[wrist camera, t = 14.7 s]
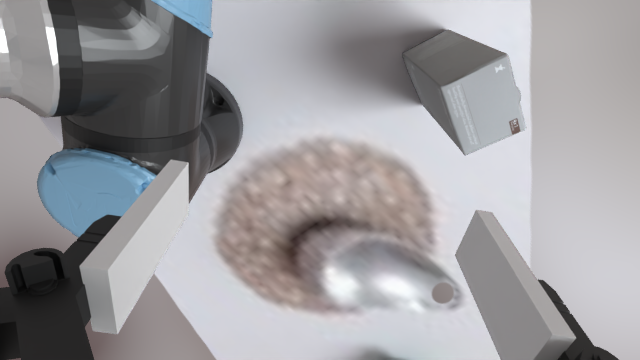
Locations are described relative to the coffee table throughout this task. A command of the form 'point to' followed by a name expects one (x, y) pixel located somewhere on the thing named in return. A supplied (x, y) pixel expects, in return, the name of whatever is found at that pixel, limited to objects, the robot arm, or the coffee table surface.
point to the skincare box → (466, 89)
